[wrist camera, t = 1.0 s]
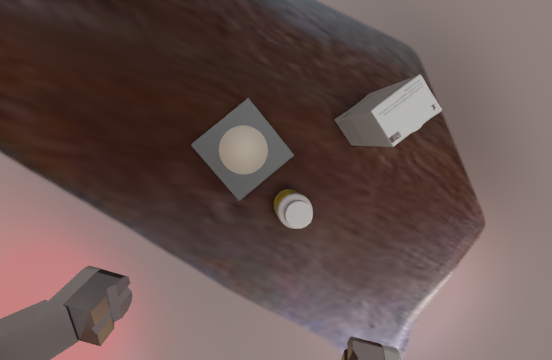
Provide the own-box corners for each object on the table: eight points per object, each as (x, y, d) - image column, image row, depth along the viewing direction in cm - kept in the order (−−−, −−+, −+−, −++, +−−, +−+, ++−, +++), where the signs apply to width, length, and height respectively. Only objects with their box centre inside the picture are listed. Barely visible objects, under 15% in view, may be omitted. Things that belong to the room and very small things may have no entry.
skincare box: (369, 93, 51) (422, 68, 36) (387, 121, 52) (446, 108, 37) (331, 121, 50) (369, 108, 36) (350, 149, 51) (395, 148, 37)
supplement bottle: (299, 185, 51) (314, 192, 41) (305, 214, 51) (321, 229, 42) (269, 192, 50) (277, 201, 40) (276, 222, 51) (285, 238, 41)
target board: (191, 145, 48) (190, 144, 46) (248, 99, 48) (248, 97, 47) (239, 199, 50) (239, 201, 48) (292, 155, 50) (294, 155, 49)
